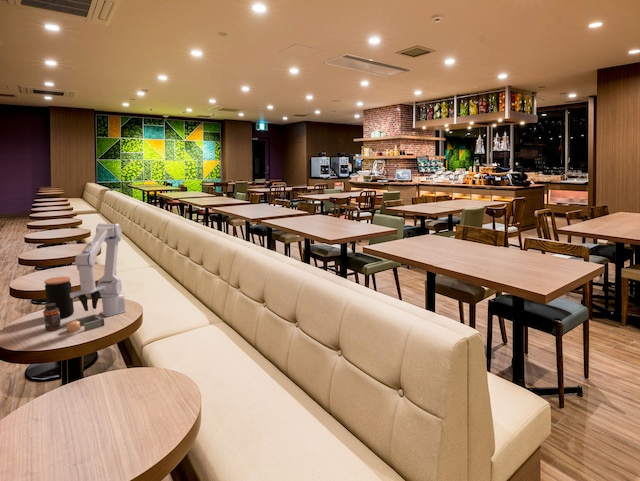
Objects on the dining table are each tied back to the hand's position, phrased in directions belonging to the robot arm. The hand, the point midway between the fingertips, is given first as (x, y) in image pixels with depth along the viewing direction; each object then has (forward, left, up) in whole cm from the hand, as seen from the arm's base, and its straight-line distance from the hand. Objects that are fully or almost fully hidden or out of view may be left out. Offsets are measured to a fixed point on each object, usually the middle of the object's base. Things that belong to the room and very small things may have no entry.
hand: (90, 309), depth 186 cm
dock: (-1, -3, -8) cm, 9 cm away
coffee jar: (+3, -27, -9) cm, 28 cm away
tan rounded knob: (+6, -3, -8) cm, 11 cm away
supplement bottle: (+11, -12, -9) cm, 19 cm away
